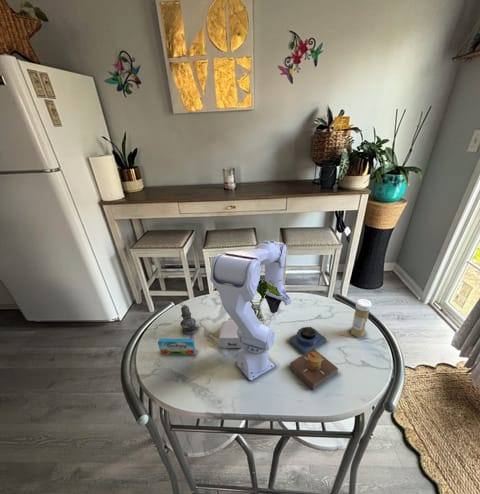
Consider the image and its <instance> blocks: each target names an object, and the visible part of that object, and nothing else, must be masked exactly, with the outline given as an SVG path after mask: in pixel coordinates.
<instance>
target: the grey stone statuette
mask: <svg viewBox="0 0 480 494" xmlns="http://www.w3.org/2000/svg"><path fill="white" fill-rule="evenodd" d="M180 311H181V318H182V320H181V321H180V323H179V325H180V327H181V328H182V333H183V334H184V335H192V334H195V333H196V332H197V329H198V328H197V327H196V325H197V324H196V323H197V320H196V319H195V318H194V317H192V312H191V311H190V306H188V305H186V304H183V306H181V307H180Z"/></svg>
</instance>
